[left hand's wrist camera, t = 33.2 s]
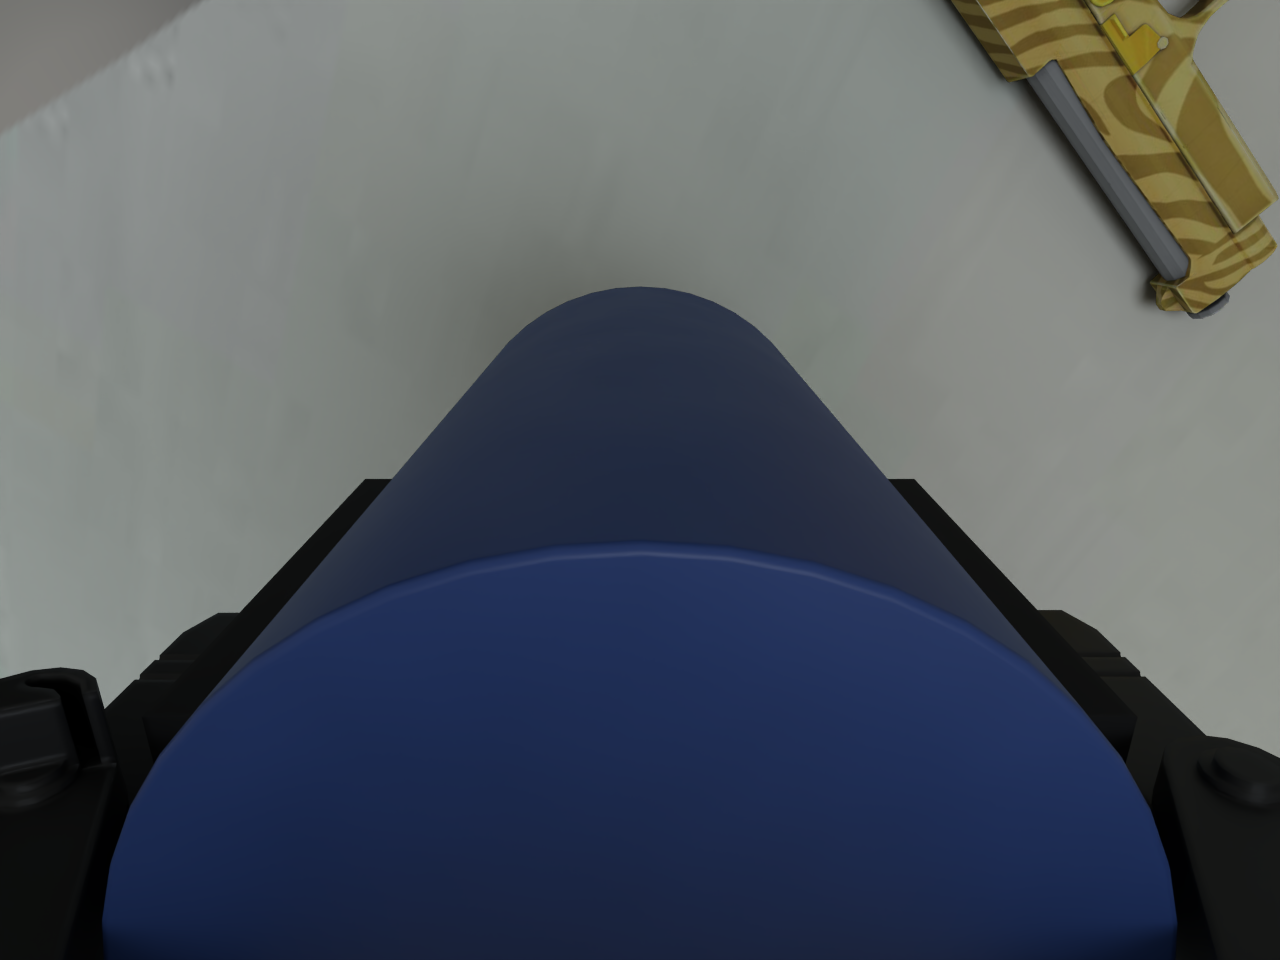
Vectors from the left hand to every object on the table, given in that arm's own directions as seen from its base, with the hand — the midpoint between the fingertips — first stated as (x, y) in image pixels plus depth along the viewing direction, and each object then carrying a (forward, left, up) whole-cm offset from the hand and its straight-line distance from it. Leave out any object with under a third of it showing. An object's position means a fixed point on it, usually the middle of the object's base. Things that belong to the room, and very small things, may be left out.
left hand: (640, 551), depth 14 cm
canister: (0, 0, -4) cm, 4 cm away
